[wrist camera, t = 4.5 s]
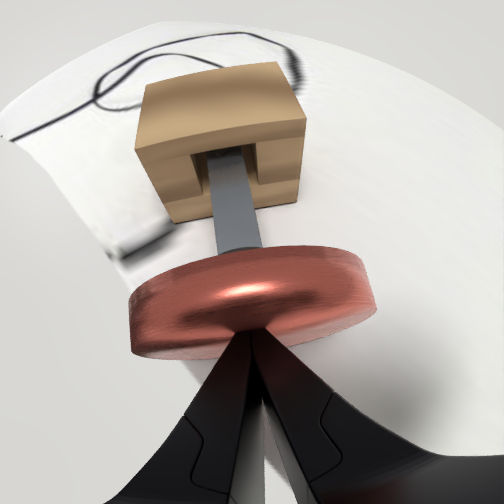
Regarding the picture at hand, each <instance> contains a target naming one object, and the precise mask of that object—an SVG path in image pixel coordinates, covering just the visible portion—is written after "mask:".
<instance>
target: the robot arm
mask: <svg viewBox="0 0 504 504" xmlns="http://www.w3.org/2000/svg"><path fill="white" fill-rule="evenodd" d="M262 399H263V401H262ZM263 403H264V407H265V410H266V413H267V416H268V419H269V422H270V425H271V429H272V432H273V435H274V437H275V440H276V443H277V446H278V449H279V452H280V455H281V458H282V461H283V464H284V467H285V470H286V472H287V475H288V478H289V481H290V484H291V486H292V489H293V492H294V495H295V498H296V500H297V503H298V504H504V455H492V456H446V455H440V454H436V453H432V452H429V451H427V450H424V449H422V448H420V447H418V446H416V445H415V444H413V443H411V442H409V441H408V440H406V439H404V438H402V437H401V436H399V435H397V434H395V433H394V432H392V431H390V430H389V429H387V428H385V427H384V426H382V425H380V424H379V423H377V422H375V421H374V420H372V419H371V418H369V417H368V416H366V415H365V414H363V413H362V412H360V411H359V410H358V409H356V408H355V407H354V406H353V405H351V404H350V403H349V402H347V401H346V400H345V399H344V398H343V397H342V396H340V395H339V394H338V393H337V392H334V390H333V389H332V388H331V387H330V386H329V385H328V384H326V383H325V382H324V381H323V380H322V379H321V378H320V377H319V376H317V375H316V374H315V373H314V372H313V371H312V370H311V369H310V368H308V367H307V366H306V365H305V364H304V363H303V362H302V361H301V360H300V359H298V358H297V357H296V356H295V355H294V354H293V353H292V352H291V351H290V350H289V349H288V348H286V347H285V346H284V345H283V344H282V343H281V342H280V341H279V340H278V339H277V338H276V337H275V336H274V335H272V334H271V333H270V332H269V331H268V330H267V329H266V328H259V329H253V330H251V333H250V331H241V332H236V333H235V334H234V335H233V337H232V338H231V340H230V342H229V343H228V345H227V346H226V348H225V350H224V351H223V353H222V355H221V356H220V358H219V359H218V361H217V363H216V364H215V366H214V367H213V369H212V371H211V372H210V374H209V375H208V377H207V378H206V380H205V382H204V383H203V385H202V386H201V388H200V390H199V391H198V393H197V394H196V396H195V397H194V399H193V401H192V402H191V404H190V405H189V407H188V408H187V410H186V411H185V413H184V416H182V418H181V419H180V420H179V422H178V424H177V425H176V426H175V428H174V429H173V431H172V432H171V433H170V435H169V436H168V438H167V439H166V440H165V442H164V443H163V444H162V445H161V447H160V448H159V449H158V450H157V451H156V453H155V454H154V455H153V456H152V458H151V459H150V460H149V461H148V462H147V463H146V464H145V465H144V467H142V469H141V470H140V471H139V472H138V473H137V474H136V475H135V476H134V477H133V478H132V479H131V480H130V482H129V483H128V484H127V485H126V486H125V487H124V488H123V489H122V490H121V491H120V492H119V493H118V494H117V495H116V496H114V497H113V498H112V499H110V500H109V501H107V502H106V503H104V504H265V483H264V421H263Z"/></svg>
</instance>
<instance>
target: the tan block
mask: <svg viewBox="0 0 504 504" xmlns="http://www.w3.org/2000/svg"><path fill="white" fill-rule="evenodd" d="M306 119H307V118H306V116H305V114H304V112H303V110H302V108H301V106H300V104H299V102H298V100H297V98H296V96H295V94H294V92H293V90H292V89H291V87H290V85H289V83H288V81H287V79H286V77H285V76H284V74H283V72H282V70H281V68H280V67H279V65H278V63H277V62H266V63H256V64H247V65H240V66H232V67H226V68H220V69H214V70H208V71H203V72H198V73H193V74H188V75H184V76H179V77H175V78H171V79H167V80H163V81H159V82H155V83H152V84H148V85H146V87H145V92H144V97H143V102H142V107H141V112H140V118H139V123H138V129H137V135H136V142H135V149H134V150H135V152H136V153H137V155H138V157H139V159H140V161H141V163H142V165H143V167H144V169H145V171H146V173H147V175H148V177H149V179H150V180H151V182H152V184H153V186H154V188H155V190H156V192H157V193H158V195H159V197H160V199H161V201H162V203H163V205H164V206H165V208H166V210H167V212H168V214H169V215H170V217H171V219H172V221H173V223H179V222H184V221H189V220H194V219H199V218H204V217H210V216H213V210H212V201H211V193H210V184H209V174H208V165H207V155H206V151H210V150H215V149H221V148H226V147H232V146H238V145H241V148H242V153H243V158H244V162H245V167H246V172H247V176H248V181H249V186H250V190H251V195H252V200H253V205H254V208H260V207H266V206H272V205H278V204H284V203H291V202H297V196H298V188H299V180H300V172H301V164H302V156H303V147H304V138H305V129H306Z"/></svg>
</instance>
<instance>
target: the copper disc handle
mask: <svg viewBox="0 0 504 504" xmlns="http://www.w3.org/2000/svg"><path fill="white" fill-rule="evenodd" d="M206 155H207V165H208V174H209V184H210V193H211V201H212V210H213V218H214V227H215V235H216V243H217V250H218V255H217V256H213V257H209V258H206V259H202V260H198V261H195V262H191V263H188V264H185V265H182V266H179V267H176V268H173V269H171V270H168V271H166V272H164V273H162V274H159V275H157V276H155V277H153V278H152V279H150V280H148V281H146V282H145V283H143V284H142V285H141V286H139V287H138V288H137V289H136V290H135V291H134V292H133V293H132V294H131V296H130V299H129V324H130V340H131V352H132V353H133V354H135V355H138V356H141V357H146V358H153V359H165V360H196V359H212V358H220V356H221V355H222V353H223V351H224V350H225V348H226V346H227V345H228V343H229V342H230V340H231V338H232V337H233V335H234V334H235V333H236V332H241V331H250V333H251V330H253V329H259V328H266V329H267V330H268V331H269V332H270V333H271V334H272V335H274V336H275V337H276V338H277V339H278V340H279V341H280V342H281V343H282V344H283V345H284V346H285V347H288V346H293V345H297V344H300V343H304V342H308V341H311V340H315V339H318V338H322V337H325V336H328V335H331V334H334V333H336V332H339V331H342V330H344V329H347V328H349V327H352V326H354V325H356V324H358V323H360V322H362V321H364V320H366V319H368V318H369V317H371V316H372V315H373V314H374V313H375V312H376V310H377V307H376V303H375V300H374V296H373V293H372V289H371V286H370V283H369V279H368V276H367V273H366V270H365V267H364V264H363V262H362V260H361V259H360V258H359V257H358V256H357V255H355V254H353V253H351V252H349V251H345V250H341V249H338V248H331V247H324V246H306V245H303V246H278V247H267V248H263V247H262V243H261V238H260V233H259V229H258V224H257V219H256V214H255V209H254V205H253V200H252V195H251V190H250V186H249V181H248V176H247V172H246V167H245V162H244V158H243V153H242V148H241V145H238V146H232V147H226V148H221V149H215V150H210V151H206Z"/></svg>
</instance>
